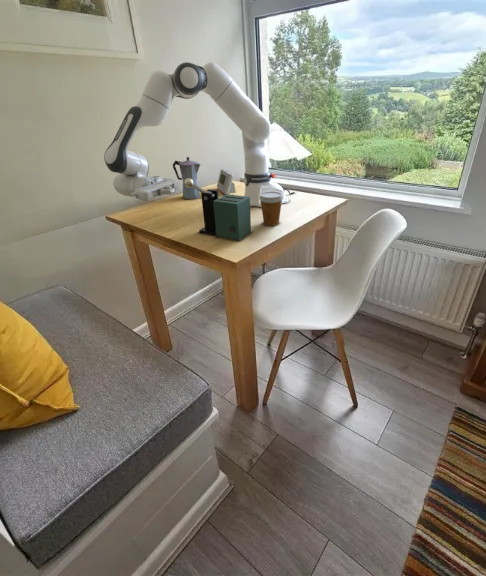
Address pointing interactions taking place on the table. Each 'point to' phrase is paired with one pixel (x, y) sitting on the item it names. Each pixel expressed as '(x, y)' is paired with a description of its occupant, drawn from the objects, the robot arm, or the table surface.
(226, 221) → the toaster
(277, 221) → the disposable coffee cup
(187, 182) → the lever
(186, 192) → the moka pot
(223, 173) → the digital clock
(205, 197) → the lever bracket
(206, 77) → the robot arm
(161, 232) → the table surface
